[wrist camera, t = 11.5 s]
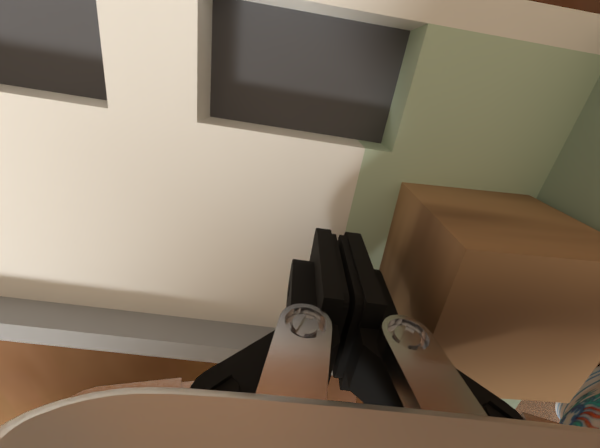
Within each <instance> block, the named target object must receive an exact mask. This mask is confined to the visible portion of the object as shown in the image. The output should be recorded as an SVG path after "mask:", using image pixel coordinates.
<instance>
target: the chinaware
mask: <svg viewBox="0 0 600 448" xmlns="http://www.w3.org/2000/svg"><path fill="white" fill-rule="evenodd" d="M555 410H556V414H557V416H558V417H559V419H560V422H559V423H560V424H564V425H572V426H580V427H588V428H596V429H600V366H598V367H596V368H595V369H594V371H593V372H592V373H591V375H590V376H589V377H588V379H587V380H586V381H585V383H584V384H583V385H582V387H581V388H580V389H579V391H578V392H577V393H576V395H575V396H574V397H573V399H572V400H571V401H570V403H557V402H556V404H555Z"/></svg>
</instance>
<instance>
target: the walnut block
mask: <svg viewBox="0 0 600 448" xmlns="http://www.w3.org/2000/svg"><path fill="white" fill-rule="evenodd" d="M379 270H380V271H381V273H382V275H383V278H384V280H385V283H386V285H387V288H388V290H389V293H390V295H391V297H392V300H393V302H394V305H395V307H396V310H397V312H398V315H404V316H407V317H411V318H413V319H415V320H417V321H419V322H420V323H422V324H423V325H424V326H426V327H427V328H428V329H429V331H430V332H431V333H432V334H433V336H434V337H435V339H436V340H437V342H438V343H439V345H440V346H441V348H442V349H443V350H444V352H445V353H446V355H447V356H448V358H449V359H450V361H451V362H452V364H453V365H454V367H455V368H456V369H458V370H459V371H461V372H462V373H464V374H465V375H467V376H468V377H470V378H471V379H473V380H474V381H475V382H477V383H478V384H480V385H481V386H483V387H484V388H486V389H487V390H489V391H490V392H492V393H493V394H494V395H496V396H497V397H499V398H500V399H515V400H529V401H543V402H557V403H570V401H571V400H572V399H573V397H574V396H575V395H576V393H577V392H578V391H579V389H580V388H581V387H582V385H583V384H584V383H585V381H586V380H587V379H588V377H589V376H590V375H591V373H592V372H593V371H594V369H595V368H596V367H597V365H598V364H599V363H600V232H599V231H597V230H595V229H593V228H592V227H590V226H588V225H586V224H584V223H582V222H580V221H578V220H576V219H574V218H572V217H570V216H568V215H567V214H565V213H563V212H561V211H559V210H557V209H555V208H553V207H551V206H549V205H547V204H545V203H543V202H541V201H540V200H538V199H536V198H534V197H532V196H530V195H523V194H514V193H504V192H494V191H484V190H474V189H465V188H455V187H445V186H435V185H425V184H416V183H406V182H402V183H401V187H400V191H399V195H398V199H397V203H396V206H395V210H394V214H393V218H392V222H391V226H390V230H389V234H388V237H387V241H386V245H385V249H384V253H383V257H382V261H381V264H380V268H379Z"/></svg>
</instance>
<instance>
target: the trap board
mask: <svg viewBox="0 0 600 448" xmlns="http://www.w3.org/2000/svg"><path fill="white" fill-rule="evenodd" d="M402 182H406V183H416V184H425V185H435V186H445V187H455V188H465V189H474V190H484V191H494V192H504V193H514V194H523V195H530V196H532V197H534V198H536V199H538V200H540V201H541V202H543V203H545V204H547V205H549V206H551V207H553V208H555V209H557V210H559V211H561V212H563V213H565V214H567V215H568V216H570V217H572V218H574V219H576V220H578V221H580V222H582V223H584V224H586V225H588V226H590V227H592V228H593V229H595V230H597V231H599V232H600V14H597V13H592V12H586V11H581V10H576V9H571V8H566V7H560V6H555V5H550V4H545V3H540V2H535V1H529V0H0V340H3V341H12V342H22V343H31V344H41V345H50V346H60V347H69V348H78V349H88V350H97V351H107V352H116V353H126V354H135V355H144V356H154V357H163V358H173V359H182V360H192V361H201V362H211V363H220V362H222V361H223V360H225V359H227V358H229V357H230V356H232V355H234V354H235V353H237V352H239V351H240V350H242V349H244V348H245V347H247V346H249V345H250V344H252V343H254V342H255V341H257V340H259V339H261V338H262V337H264V336H266V335H267V334H269V333H271V332H272V331H274V330H275V329H276V326H277V323H278V319H279V316H280V314H281V312H282V311H283V310H284V309H285V308H286V302H287V291H288V283H289V276H290V270H291V264H292V259H298V260H306V261H309V260H310V255H311V250H312V245H313V239H314V234H315V230H316V228H322V229H330V230H331V232H332V234H336V236H337V240H338V237H339V235H344V234H345V232H352V233H360V234H361V236H362V238H363V241H364V244H365V246H366V249H367V252H368V254H369V257H370V260H371V263H372V265H373V268H374V269H377V270H379V268H380V264H381V261H382V257H383V253H384V249H385V245H386V241H387V237H388V234H389V230H390V226H391V222H392V218H393V214H394V210H395V206H396V203H397V199H398V195H399V191H400V187H401V183H402ZM331 375H333V371H332V373H331ZM502 400H503V401H505V402H506V403H507V404H509V405H510V406H511V407H512V408H514V409H515V408H516V407H517V406H518V404H519V403H520V401H521V400H515V399H502Z"/></svg>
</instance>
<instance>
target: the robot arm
mask: <svg viewBox="0 0 600 448" xmlns="http://www.w3.org/2000/svg"><path fill="white" fill-rule="evenodd" d="M332 371H333V377H334V378H339V385H340V390H346V391H351V392H352V393H353V394H355V395H356V396H357V397H356V403H351V402H341V401H330V400H327V387H328V384H329V380H330V377H331V373H332ZM0 448H600V429H596V428H588V427H580V426H572V425H564V424H560V423H557V422H554V421H550V420H547V419H544V418H541V417H537V416H534V415H531V414H528V413H524V412H522V414H521V415H520V414H519V413H518V412H517V411H516V410H515V409H514V408H512V407H511V406H510V405H509V404H507V403H506V402H505V401H503V400H502V399H500V398H499V397H497V396H496V395H494V394H493V393H492V392H490V391H489V390H487V389H486V388H484V387H483V386H481V385H480V384H478V383H477V382H475V381H474V380H473V379H471V378H470V377H468V376H467V375H465V374H464V373H462V372H461V371H459V370H458V369H456V368H455V367H454V365H453V364H452V362H451V361H450V359H449V358H448V356H447V355H446V353H445V352H444V350H443V349H442V348H441V346H440V345H439V343H438V342H437V340H436V339H435V337H434V336H433V334H432V333H431V332H430V331H429V329H428V328H427V327H426V326H424V325H423V324H422V323H420V322H419V321H417V320H415V319H413V318H411V317H407V316H404V315H398V312H397V310H396V307H395V305H394V302H393V300H392V297H391V295H390V293H389V290H388V288H387V285H386V283H385V280H384V278H383V275H382V273H381V271H380V270H377V269H374V268H373V265H372V263H371V260H370V257H369V254H368V252H367V249H366V246H365V244H364V241H363V238H362V236H361V234H360V233H352V232H345V234H344V235H339V237H338V240H337V236H336V234H332V232H331V230H330V229H322V228H316V230H315V234H314V239H313V245H312V250H311V255H310V260H309V261H306V260H298V259H292V264H291V270H290V276H289V283H288V291H287V302H286V308H285V309H284V310H283V311H282V312H281V314H280V316H279V319H278V323H277V326H276V329H275V330H274V331H272V332H271V333H269V334H267V335H266V336H264V337H262V338H261V339H259V340H257V341H255V342H254V343H252V344H250V345H249V346H247V347H245V348H244V349H242V350H240V351H239V352H237V353H235V354H234V355H232V356H230V357H229V358H227V359H225V360H223V361H222V362H220V363H218V364H217V365H215V366H213V367H212V368H210V369H208V370H207V371H205V372H204V373H202V374H201V375H200V376H199V377H197V378H196V380H195V381H188V382H182V377H181V378H172V379H162V380H153V381H143V382H134V383H125V384H115V385H106V386H97V387H93V388H89V389H85V390H83V391H81V392H79V393H77V394H75V395H73V396H72V397H70V398H66V399H62V400H59V401H55V402H52V403H49V404H46V405H43V406H41V407H38V408H36V409H33V410H30V411H28V412H25V413H23V414H21V415H19V416H17V417H16V418H14V419H12V420H10V421H8V422H6V423H4V424H3V425H1V426H0Z"/></svg>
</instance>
